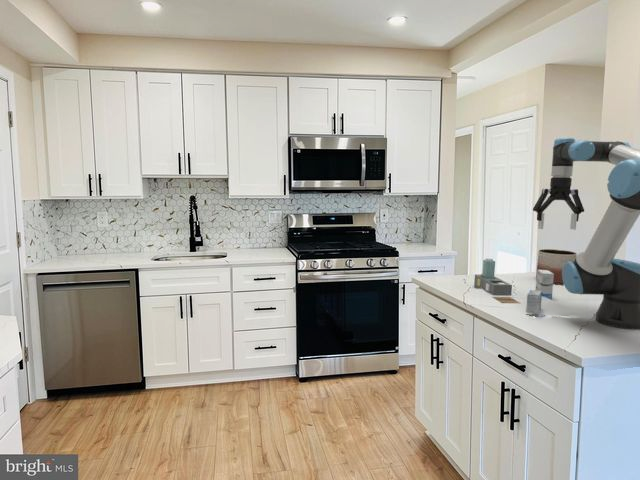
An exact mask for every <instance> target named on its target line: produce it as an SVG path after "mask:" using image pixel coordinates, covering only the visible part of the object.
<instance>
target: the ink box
mask: <svg viewBox="0 0 640 480" xmlns="http://www.w3.org/2000/svg"><path fill="white" fill-rule="evenodd" d="M536 272H537V278H536V280H535V290H536V291H542V297H545V298H546V299H548V300H553V288H554V284H553V279H554V274H553V273H551V272H550V271H548V270H537V269H536Z"/></svg>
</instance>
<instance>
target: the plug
mask: <svg viewBox="0 0 640 480" xmlns="http://www.w3.org/2000/svg"><path fill="white" fill-rule="evenodd" d="M495 268H496V261H495V260H494V259H493V258H489V257H488V258H487V257H486V258H485V259H483V261H482V273H481V274H482V277H483V278H485V279H494V276H495V273H496V272H495Z"/></svg>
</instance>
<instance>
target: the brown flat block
mask: <svg viewBox="0 0 640 480" xmlns="http://www.w3.org/2000/svg"><path fill="white" fill-rule="evenodd" d="M492 298H493V299H494V300H496V301H498V302H499V303H500V304H521V302H519V301H518V300H516V299H515V298H512V297H511V296H492Z"/></svg>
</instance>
